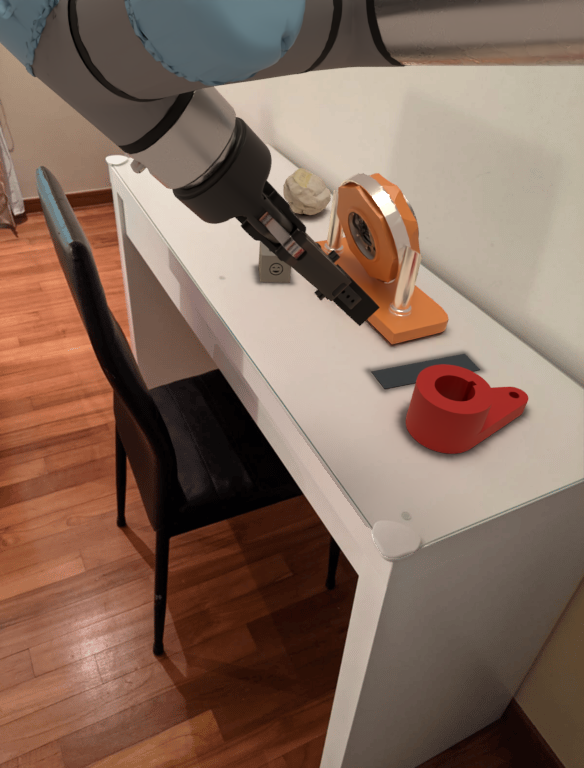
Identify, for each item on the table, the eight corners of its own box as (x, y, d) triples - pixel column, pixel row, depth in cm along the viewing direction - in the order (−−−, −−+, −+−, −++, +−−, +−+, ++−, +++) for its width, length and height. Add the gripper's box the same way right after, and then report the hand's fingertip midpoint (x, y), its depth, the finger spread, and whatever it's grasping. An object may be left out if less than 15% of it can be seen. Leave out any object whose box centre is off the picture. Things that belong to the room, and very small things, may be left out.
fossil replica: (322, 199, 133) (278, 203, 132) (323, 160, 128) (276, 164, 127) (337, 219, 124) (289, 223, 122) (338, 178, 119) (288, 182, 117)
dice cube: (258, 267, 107) (259, 241, 104) (286, 268, 108) (288, 242, 105) (260, 282, 103) (262, 255, 100) (289, 282, 104) (292, 256, 101)
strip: (480, 369, 89) (480, 369, 89) (384, 389, 84) (384, 388, 84) (464, 354, 92) (464, 353, 92) (371, 371, 87) (371, 371, 87)
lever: (433, 461, 74) (446, 421, 70) (391, 412, 80) (401, 373, 76) (543, 426, 81) (562, 388, 77) (497, 383, 87) (512, 346, 83)
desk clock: (388, 347, 92) (417, 222, 79) (297, 256, 112) (309, 144, 99) (452, 332, 97) (489, 211, 84) (354, 247, 117) (372, 139, 104)
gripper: (150, 159, 50) (313, 305, 66) (190, 227, 41) (368, 377, 57) (212, 89, 49) (364, 256, 65) (268, 144, 40) (429, 322, 56)
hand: (366, 312), depth 61 cm, fingers closed
